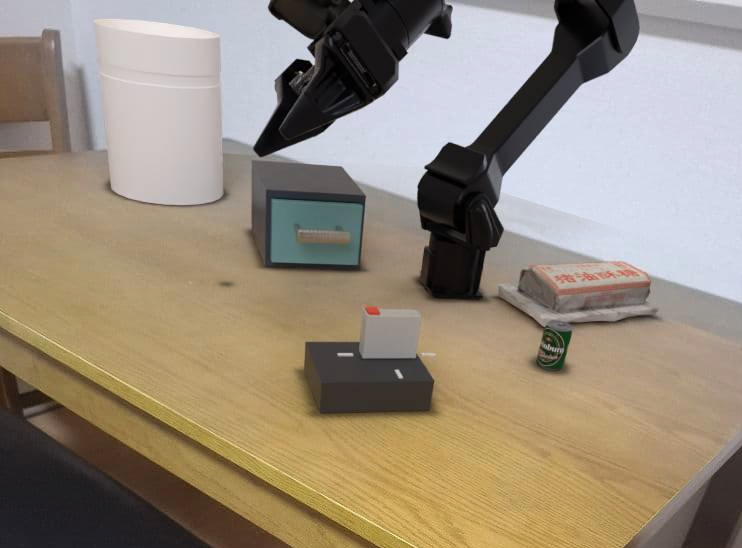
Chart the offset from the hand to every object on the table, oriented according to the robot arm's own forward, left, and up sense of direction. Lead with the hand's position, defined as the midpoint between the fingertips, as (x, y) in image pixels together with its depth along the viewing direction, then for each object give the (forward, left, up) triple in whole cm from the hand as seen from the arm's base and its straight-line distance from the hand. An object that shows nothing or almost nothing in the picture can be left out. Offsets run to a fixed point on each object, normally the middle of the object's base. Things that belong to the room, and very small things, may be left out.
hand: (269, 144), depth 68 cm
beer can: (-28, +10, -17) cm, 34 cm away
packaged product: (-39, -6, -17) cm, 43 cm away
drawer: (-8, -21, -16) cm, 27 cm away
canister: (+8, -49, -17) cm, 53 cm away
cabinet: (-8, -25, -17) cm, 31 cm away
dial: (-9, +13, -14) cm, 21 cm away
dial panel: (-8, +14, -17) cm, 23 cm away
